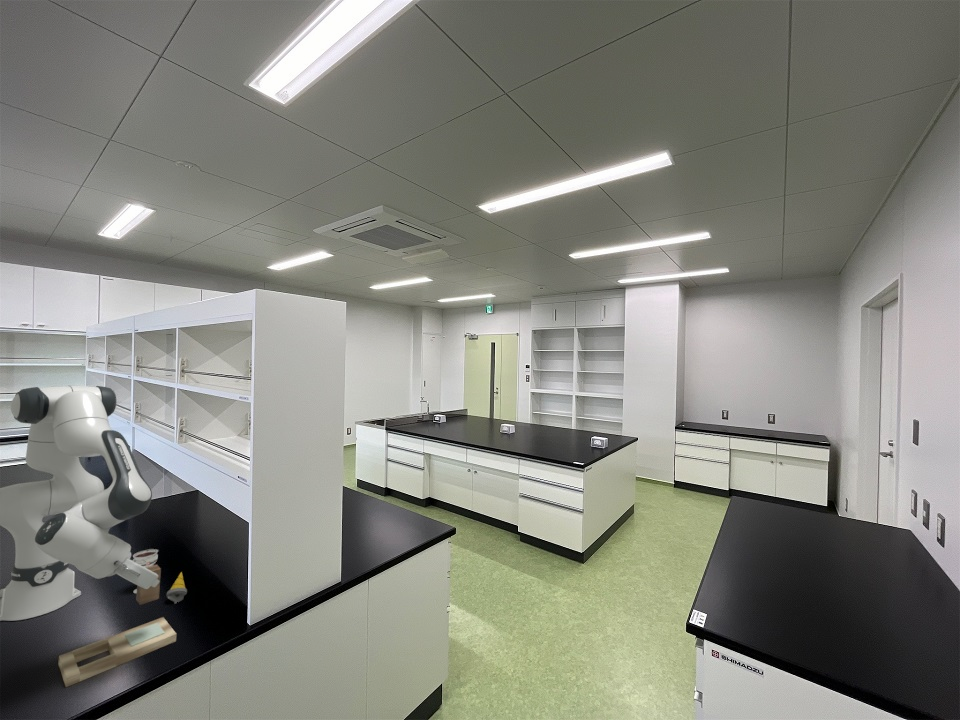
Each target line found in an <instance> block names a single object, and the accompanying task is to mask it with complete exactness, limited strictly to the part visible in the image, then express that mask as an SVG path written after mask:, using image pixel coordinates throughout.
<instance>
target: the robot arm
mask: <svg viewBox="0 0 960 720" xmlns="http://www.w3.org/2000/svg"><path fill="white" fill-rule="evenodd" d="M117 400H118V399H117V395H116V393H115V391H114V390H113V389H112V388H111V387H107V386H101V385H100V386H99V385H96V386H90V385H64V386H63V385H60V386H47V387H45V386H44V387H38V386H34V387H26V388H23V389H21V390H18V391H17V392H16V393H15V395H14V397H13V398H12V400H11V403H10V411H11V413H12V416H13V418H14V420H15V421H17V422H19V423H22V424H28V425H30V426H29V427H30V428H29V431H28V437H27V438H28V439H27V446H26V452H25V463H26V465H27V466H28V467H29V468H31V469H32V470H35V471H38V472H43V473H48V474H51V475H53V477H52V478H50V479H47V480H40V481H39V480H37V481H29V482H23V483H21V482H20V483H16V484H11V485H7V486H2V487H0V526H1V527H3V528H4V529H6V530H7V531H8V532H9V533H10V535H11V536H12V538H13V540H14V544H15V545H14V547H15V548H14V549H15V560H14V564H13V566H12V570H11V572H10V573H11V574H10V575H11V577H10V579H11V580H10V581H9V583H8V584H7V585H6V586H5V588H1V589H0V622H1V621H7V622H10V621H22V620H27V619H32V618H36V617H39V616H42V615H45V614H49V613H51V612H53V611H56V610H58V609H60V608H62V607H64V606H66V605H67V604H68V603H70V602H71V601H72V600H74V599H76V598H78V597H80V596H81V595H82V591H81V590H78V589H77V588H76V587H75V571H73V569H71V568H69V566H70V565H72V566H73V567H76V569H77V570H78V571H80V572H82V573H83V574H86V575H88V576H91V577H92V578H94V579H96V580H97V579H98V580H99V579H100V580H101V579H103V578H106V577H112V576H115V575H118V576H120V577H121V578H122V579H125V580H126V581H128V582H131V583H132V584H134V585H136V586H137V585H138V586H140V587H142V588H144V589H148V588H149V587H150V586H152V587H156V586H157V585H158V583H159V582H160V583H161V580H160V581H159V580H158V579H157V578H158V577H159V576H158V575H157V574H156V573H154V572H152V571H151V570H149V569H147V568H145V567H143V566H141V565H140V564H138V563H136V562H134V561H133V559H131V557H132V552H131V549H132V545H131V544H130V543H128V542H126V541H125V540H123V539H121V538H119V537H118V536H116V535H113V534H110V533H109V531H110V529H111V528H112V527H115V526H116V525H118V524H121V523H123V522H125V521H127V520H129V519H132V518H135V517H137V516H140V515H142V514H143V513H145V511H147V509H149V506H150V505H151V502H152V498H153V493H152V489H151V487H150V485H149V484H148V483H147V481H146V480H145V479H144V477H143V475H142V473H141V471H140V468H139V466H138V464H137V461H136V459H135V457H134V454H133V451H132V450H131V447H130V446H129V443H128V441H127V440H126V437H125V436H124V434H122V433H121V432H119V431H118V430H113V429H112V428H111V426H110V422H109V418H108V417H110V416H111V415H112V414H114V412H115V410H116V407H117V403H118V401H117ZM100 456H102V457H103V459H104V460H105V463H106V465H107V468H108V471H109V473H110V475H111V477H112V482H111V484H110V485H109V486H108V488H105V486H104V483H103V481H102V480H101V478H99V477H98V476H97V475H93V474H91V473H90V472H88V471H87V470H85V468H84V467H83V466H82V464H81V461H80V458H91V457H100ZM52 515H53V516H52ZM47 516H51V517H50V518H48V519H47V520H46V521H45V522H43V518H44V517H47Z"/></svg>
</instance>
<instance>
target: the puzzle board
mask: <svg viewBox="0 0 960 720" xmlns="http://www.w3.org/2000/svg"><path fill="white" fill-rule="evenodd" d="M175 642H177V632H176V631H175V630H174V629H173V628H172V626H171V625H170V624H169V623H168V621H167V620H166V619H165V617H164V616H162V617H159V618H157V619H154V620H152V621H149V622H147V623H144V624H143V623H142V624H141V625H138V626H136V627H133V628H130V629H127V630H124V631H122V632H120V633H117V634H113V635H112V636H109V637H105V638H103V639H100V640H98V641H97V640H96V641H95V642H92V643H89V644H86V645H84V646H81V647H79V648H76V649H74V650H71V651H68V652H65V653H63V654H60V655H58V663H57V664H58V667H59V670H60V672H61V673H60V674H61V676H62V680H63V683H64V686H65V688H68V687H70V686H73V685H75V684H77V683H80V682H83V681H85V680H87V679H89V678H91V677H94V676H97V675H99V674H102V673H104V672H106V671H109V670H111V669H113V668H116V667H118V666H120V665H123V664H125V663H128V662H130V661H133V660H134V659H137V658H139V657H142V656H144V655H147V654H149V653H151V652H154V651H157V650H158V649H160V648H163V647H166V646H168V645H171V644H173V643H175ZM107 651H108V652H109V655H107V656H104V657H101V658H99V659H96V660H94V661H91V662H89V663H87V664H84V665H81V666H78V663H79V662H81V661H84V660H87V659H89V658H92V657H94V656H97V655H100V654H102V653H104V652H107Z"/></svg>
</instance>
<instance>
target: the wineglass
mask: <svg viewBox="0 0 960 720" xmlns="http://www.w3.org/2000/svg"><path fill="white" fill-rule="evenodd" d="M158 552H159V549H156V548H155V549H154V548H149V549H145V550H140V551H138V552H136V553H134V554H132V557H133V559H132V561H134V562H136V563H138V564H140V565H141V566H143V567H145V568H146V567H150V566H153V565H156V562H157V561H158V559H159V554H158ZM133 593H134V594H137V588H135V589H134V590H133Z"/></svg>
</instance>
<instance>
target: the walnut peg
mask: <svg viewBox="0 0 960 720" xmlns="http://www.w3.org/2000/svg"><path fill="white" fill-rule="evenodd" d="M146 568H147V569H149V570H151V571H152V572H154V573H156V574H157V575H158V576H159V577H158V578H157V579H158V580H159V581H160V582H159V583H158V585H157V586H156V587H152V586H150V587H149V588H148V589H144V588H142V587H140V586H138V585H136V589H137V593H135V595H136V597H135V600H136V602H137V603H138V604H139V605H140V606H141V605H145V604H147V603H151V602H152V601H156V600H158V599H160V588H161V587H160V585H161V573H162V568H161V567H160V566H159V565H158V564H154V565H153V566H150V567H146Z"/></svg>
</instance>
